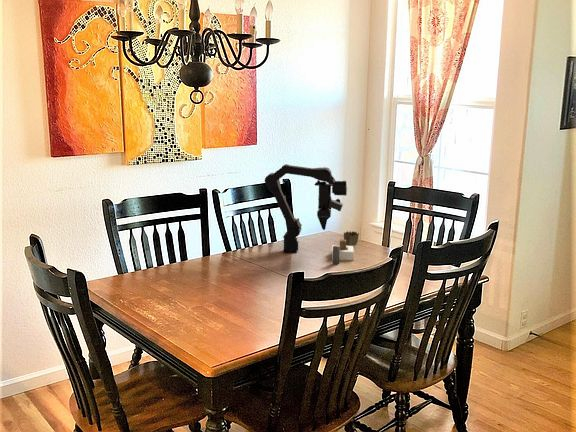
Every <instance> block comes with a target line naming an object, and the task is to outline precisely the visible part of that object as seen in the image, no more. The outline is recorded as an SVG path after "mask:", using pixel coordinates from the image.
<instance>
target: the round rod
mask: <svg viewBox="0 0 576 432" xmlns="http://www.w3.org/2000/svg"><path fill="white" fill-rule="evenodd" d="M339 257H340V245H337V246H333V260H332V265H334V266H337V265H338V264H339V265H340V260H339ZM339 265H338V266H339Z"/></svg>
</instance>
